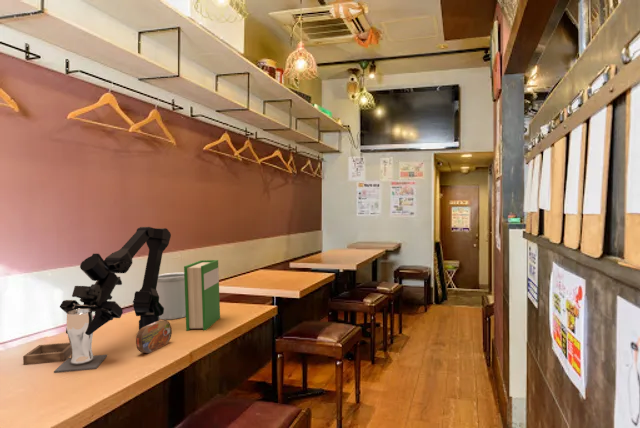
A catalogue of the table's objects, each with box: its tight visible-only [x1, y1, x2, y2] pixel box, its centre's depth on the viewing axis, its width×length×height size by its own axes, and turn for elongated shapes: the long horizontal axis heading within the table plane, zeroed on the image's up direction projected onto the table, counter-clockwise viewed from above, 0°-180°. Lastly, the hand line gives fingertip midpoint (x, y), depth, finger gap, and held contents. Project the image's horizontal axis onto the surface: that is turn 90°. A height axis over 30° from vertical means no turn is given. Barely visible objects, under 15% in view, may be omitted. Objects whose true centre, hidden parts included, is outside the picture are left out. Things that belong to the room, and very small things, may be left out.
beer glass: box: [66, 308, 95, 365], centre depth 128 cm, size 7×7×15 cm
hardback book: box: [183, 259, 221, 332], centre depth 169 cm, size 18×7×24 cm, turn 176°
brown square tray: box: [22, 341, 71, 366], centre depth 135 cm, size 11×11×2 cm
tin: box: [135, 319, 173, 354], centre depth 141 cm, size 15×3×8 cm, turn 163°
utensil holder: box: [156, 271, 186, 321], centre depth 184 cm, size 15×15×18 cm
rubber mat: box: [53, 354, 108, 374], centre depth 128 cm, size 11×11×1 cm
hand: (77, 334), depth 127 cm, fingers open, 7 cm apart
